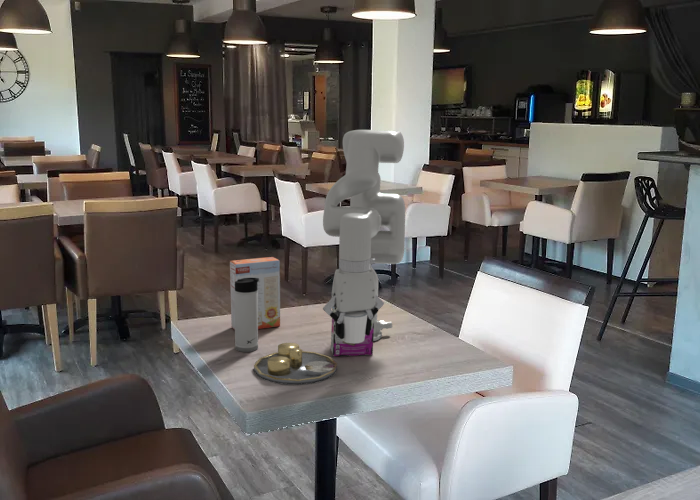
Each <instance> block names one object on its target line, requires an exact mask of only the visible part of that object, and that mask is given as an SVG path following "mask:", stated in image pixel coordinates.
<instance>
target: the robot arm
mask: <svg viewBox="0 0 700 500" xmlns="http://www.w3.org/2000/svg"><path fill="white" fill-rule="evenodd" d="M342 150H343V155H344V158H345V161H346V168H345V175H343V176H342V177H340V178H339V179H338V180H337V181H336V182H335V183H334V184H333V185H331V186H332V187H330V189H329V190H328V191H327V195H326V197H325V200H324V208H323V216H322V226H323V230H324V232H325V234H326V235H328V236H330V237H337V238H339V244H338V246H339V247H338V248H339V249H338V251H339V252H338V268H337V269H335V271H334V275H333V280H332V281H333V282H332V288H331V289H332V290H331V298H330V299H329V301H328V302H326V303H325V305H324V306H323V308H322V310H323V311H324V312H325V313H326V314H327V315H328V316H329V317H330V318H331V319H332V318H333V319H334V320H335V333H336V335H337V336H338V337H339V338H340V339H343V338H344V323H342V321H343V318H344V316H345V313H346V312H355V311H363V310H365V311H366V313H368V314H367V323H366V331H365V334H366V335H367V336H368V335H370V331H371V321H372V319H373V318H374V336H373V342H375V341H378V340H380V339H381V338H382V337H383V332H382V331H383V330H384V329H392V328H393V323H392V321H385V320H379V319H378V312H379V310H380V309H382V307H383V306H384V304H385V302H384V301H383V300H382V299H381V298H380V297H379V276H378V274H377V272H376V271H375V269H374V268H373V267H372V265H375V264H380V265H396V264H397V265H398V264H400V263H402V261H403V258H404V256H405V245H406V243H405V241H406V237H405V236H406V235H405V234H406V206H405V205H406V203H405V200H404V198H403V196H401V195H399V194H397V193H389V192H388V193H383V192H381V175H380V173H379V166H380V165H379V164H398V163H400V162H401V161H402V159H403V155H404V150H405V139H404V136H403V133H402V132H401V131H399V130H381V129H380V130H379V129H355V130H349V131H347V132H345V133H344V135H343V137H342ZM348 198H350V201H349V202H350V204H349V206H339V204H340V203H341V202H343V201H345V200H347V199H348ZM381 227H385V228H386V227H387V228H388V229H389V230H381ZM332 307H334V308H337V310H336V313H334V312H333V311H332Z"/></svg>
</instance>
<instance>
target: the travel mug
mask: <svg viewBox="0 0 700 500" xmlns="http://www.w3.org/2000/svg"><path fill="white" fill-rule="evenodd" d="M258 281H259V278H243V279H239V280H237V281H235V330H234V342H235V343H234V348H235V350H236V351H238V352H243V353H250V352H254V351H256V350H258V349H259V329H258V287H257V286H258Z"/></svg>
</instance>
